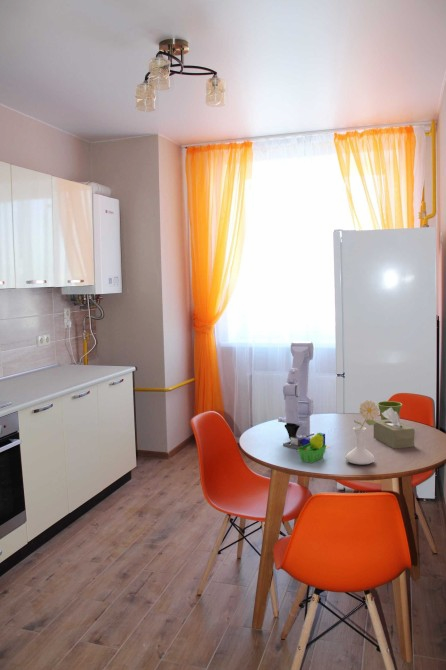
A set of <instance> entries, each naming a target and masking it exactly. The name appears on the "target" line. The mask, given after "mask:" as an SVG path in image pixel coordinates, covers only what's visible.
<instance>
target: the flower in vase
mask: <svg viewBox="0 0 446 670" xmlns="http://www.w3.org/2000/svg"><path fill="white" fill-rule="evenodd" d="M359 414H360V416H362V419H364V422H362V423H361V422H358V421H356V420H354V419H353V421H354V423H355V424H359V425H361V426H355V427H353V428H352V429H353V430H354V432H355V435H356V446H355V448H353V449H352V450H350V451H349V452H348V453H347V454H346V455H345V457H344V459H345V460H346V462H348V463H350V464H353V465H369V464H371V463H373V462H374V461H375V460H376V458H375V456H374V455H373V453H372V452H370V451H369V450H368V449H366V448H365V446H364V441H363V439H364V433H365V431H366V430H367V428H366V427H365V426H364V425H365V424H367V425H368V426H374V424H376V422H375V420H374V419H376V418H378V417H379V415H380V409H379V407H378V405H376V403H375V402H374V401H372V400H365V401H363V402H361V403H360V405H359Z"/></svg>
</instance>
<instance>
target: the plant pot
mask: <svg viewBox="0 0 446 670" xmlns="http://www.w3.org/2000/svg"><path fill="white" fill-rule="evenodd" d="M376 404H377V407H378V408H379V415H380V420H387V418H385V417H384V416H383V415H382V413H383V412H384V411H387V410H388V409H389V408H390V407H392V409H393V411H394V412H397V413H398V415H399V416H400V414H401V413H400V412H401V409H402V407H403V403H401V402H399V401H391V400H384V401H379V402H377V403H376Z"/></svg>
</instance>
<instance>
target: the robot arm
mask: <svg viewBox="0 0 446 670" xmlns="http://www.w3.org/2000/svg"><path fill="white" fill-rule="evenodd" d="M314 350H315V349H314V343H313V342H312V341H292V342H291V343H290V353H291V356H292V357H293V358H292V365H291V366H292V367H291V368H290V369H289V371H288V375H287V379H286V381H285V382H286V383H285V384H283V387H282V388H283V389H282V392H283V399H284V402H285V403H284V405H285V411H284V412H285V413H284V414H285V417H282V416H279V417H278V418H277V421H278V423H285V424H284V428H285V430H286V432H287V435H288V437H289V438H288V439H290V437H293V436H296V435H298V434H299V435H304V436H306V437H309V436H311V435H314V434H315V432H313V431H311V416H312V415H313V414H314V400H313V398H311V397H310V396H309V395H308V390H309V389H308V388H309V386H308V385H309V369H310V367H309V366H310V365H309V364H310V361H312V360H314V359H313V357H314Z"/></svg>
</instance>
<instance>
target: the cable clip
mask: <svg viewBox="0 0 446 670" xmlns="http://www.w3.org/2000/svg"><path fill="white" fill-rule="evenodd" d="M320 433H321V434H322V435H323V445H326V433H323V432H320ZM310 439H311V438H308V437H306V438H303V446H304V445H307V444H309V443H310Z"/></svg>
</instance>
